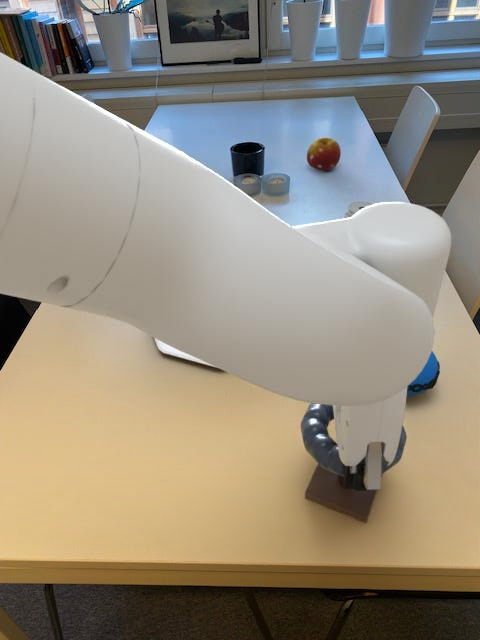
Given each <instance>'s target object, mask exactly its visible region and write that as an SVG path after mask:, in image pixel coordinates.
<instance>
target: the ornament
mask: <svg viewBox="0 0 480 640" xmlns="http://www.w3.org/2000/svg"><path fill="white" fill-rule="evenodd" d="M440 368H441V366H440V362H439V360H438V359H437V356H436V354H435V353H434V350H432V351H431V354H430V357H429V359H428V361H427V363H426V365H425V366H424V368H423V370H422V371H421V372H420V374H419V375H418V376H417V377H416V379H415V380H414V381H413V382H412V383H410V384H409V385H408V387H407V396H417V395H421V394H423V393H425V392H427V391H428V390H429V391H430V390H431V391H432V389H433V388H434V387H435V386H436V384H437V383H438V379H439V376H440V374H441V369H440Z"/></svg>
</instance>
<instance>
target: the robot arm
mask: <svg viewBox="0 0 480 640" xmlns="http://www.w3.org/2000/svg"><path fill="white" fill-rule="evenodd" d="M372 204H373V203H372ZM451 247H452V233H451V230H450V227H449V225H448V224H447V222H446V220H445V219H444V218H443V217H441V216H440V215H439V214H438V213H436V212H435V211H434V210H432V209H429V208H427V207H425V206H422V205H420V204H415V203H409V202H403V201H384V202H377V203H374V204H373V205H370V206H367V207H365V208H363V209H361V210H359V211H358V212H356V213H355V214H354V215H353V216H352V217H349V218H344V217H343V218H339V219H333V220H327V221H321V222H313V223H306V224H299V225H290V224H289V223H286V222H285V221H284V220H282V219H281V218H279V217H278V216H277V215H275V214H274V213H272V212H271V211H269V210H268V209H267V208H265V207H264V206H263V205H261V204H260V203H258V202H257V201H256V200H255V199H253V198H252V197H250V196H249V195H248V194H247V193H245V192H244V191H242V190H241V189H240V188H238V187H237V186H236V185H234V184H233V183H232V182H230V181H228V180H227V179H225V178H224V177H223V176H221V175H220V174H219V173H217V172H215V171H213V169H210V168H209V167H206V166H205V165H204V164H203V163H200V162H199V161H197V160H195V159H194V158H193V157H191V156H189V155H187V154H186V153H185V152H183V151H181V150H179V149H178V148H176V147H174V146H173V145H171V144H169V143H167V142H165V141H163V140H161V139H159V138H158V137H156V136H153V135H152V134H150V133H148V132H147V131H144V130H143V129H141V128H139V127H137V126H136V125H133V124H132V123H130V122H128V121H126V120H125V119H123V118H121V117H118V116H117V115H115V114H113V113H111V112H109V111H107V110H105V109H104V108H102V107H100V106H98V105H96V104H95V103H93V102H92V101H89V100H87V99H86V98H84V97H82V96H80V95H78V93H77V94H76V93H75V92H73V91H71V90H69V89H67V88H65V87H64V86H62V85H61V84H58V83H57V82H55V81H53V80H51V79H50V78H48V77H45V76H44V75H42V74H40V73H38V72H36V71H34V70H33V69H31V68H30V67H27V66H26V65H24V64H22V63H21V62H19V61H17V60H15V59H13V58H11V57H10V56H8V55H6V54H4V53H2V52H1V51H0V294H1V295H4V296H5V295H6V296H10V297H15V298H20V299H25V300H29V301H34V302H38V303H43V304H48V305H52V306H57V307H61V308H65V309H70V310H74V311H81V312H83V313H89V314H94V315H99V316H102V317H106V318H110V319H115V320H117V321H121V322H123V323H126V324H128V325H130V326H132V327H133V328H136V329H137V330H139V331H141V332H143V333H145V334H147V335H148V336H150V337H152V338H153V339H154V338H155V339H157V340H159V341H161V342H163V343H165V344H167V345H169V346H171V347H173V348H175V349H177V350H179V351H181V352H184V353H186V354H188V355H191V356H193V357H195V358H197V359H200V360H202V361H204V362H206V363H209V364H211V365H213V366H215V367H217V368H216V369H220V370H222V371H224V372H226V373H228V374H230V375H232V376H235V377H237V378H238V379H241V380H243V381H245V382H247V383H249V384H251V385H254V386H256V387H259V388H261V389H263V390H266V391H268V392H271V393H273V394H277V395H278V396H282V397H284V398H288V399H292V400H295V401H299V402H304V403H308V404H311V403H314V404H323V405H333V412H334V419H333V420H334V428H335V436H336V443H337V444H338V451H339V456H340V460H341V461H342V463H343V464H344V465H346V470H345V477H344V488H346V489H354V490H356V491H366V490H377V491H382V490H381V488H382V478H381V462H382V457H383V462H384V464H386V465H387V466H389V465H390V464H391V463H392V462H393V460H394V458H395V455H396V452H397V449H398V445H399V440H400V435H401V430H402V424H403V423H404V418H405V411H406V405H407V397H408V395H407V387H408V385H409V384H410V383H412V382H413V381H414V380H415V379H416V377H417V376H418V375H419V374H420V372H421V371H422V370H423V368H424V366H425V365H426V363H427V361H428V359H429V357H430V354H431V351H433V348H434V343H435V331H436V329H435V324H434V323H435V322H434V315H435V313H436V312H435V311H436V308H437V304H438V300H439V297H440V296H439V295H440V292H441V288H442V284H443V280H444V276H445V272H446V269H447V265H448V261H449V257H450V254H451V253H450V252H451ZM155 339H154V340H155ZM403 425H404V424H403ZM364 457H366V458H365V460H362V459H363V458H364Z"/></svg>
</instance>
